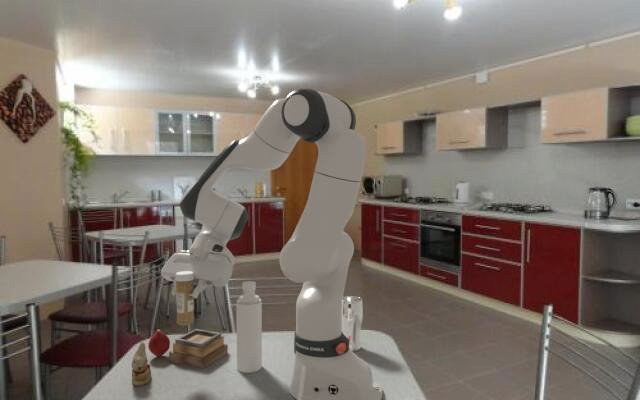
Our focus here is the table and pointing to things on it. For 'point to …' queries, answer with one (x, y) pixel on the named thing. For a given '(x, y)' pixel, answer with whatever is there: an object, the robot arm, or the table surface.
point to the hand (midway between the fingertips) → (183, 296)
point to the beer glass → (352, 320)
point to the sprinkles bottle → (184, 297)
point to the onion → (159, 343)
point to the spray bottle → (249, 329)
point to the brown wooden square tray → (198, 348)
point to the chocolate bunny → (140, 367)
